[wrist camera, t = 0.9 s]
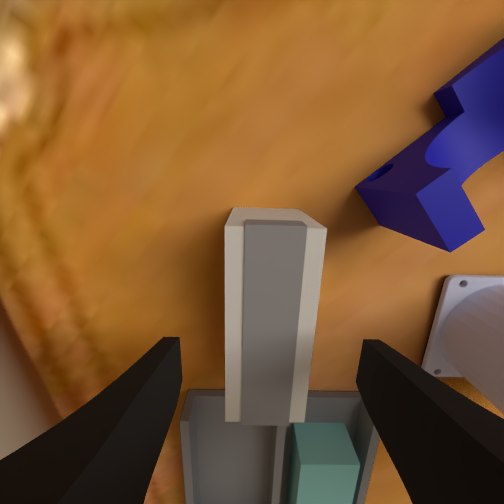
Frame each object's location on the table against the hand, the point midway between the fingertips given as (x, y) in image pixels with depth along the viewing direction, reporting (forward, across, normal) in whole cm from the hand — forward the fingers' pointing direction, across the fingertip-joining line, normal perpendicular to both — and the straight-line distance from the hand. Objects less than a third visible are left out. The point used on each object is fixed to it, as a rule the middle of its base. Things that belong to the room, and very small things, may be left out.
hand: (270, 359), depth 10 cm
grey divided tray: (+7, -2, +16) cm, 18 cm away
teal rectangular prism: (+7, -5, +16) cm, 18 cm away
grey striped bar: (+7, 0, 0) cm, 7 cm away
